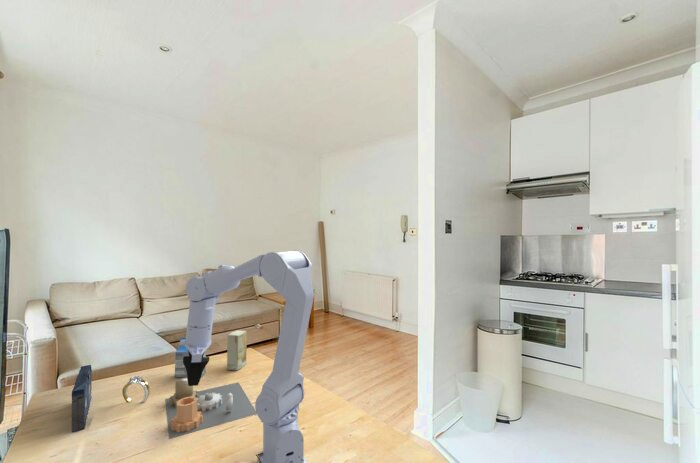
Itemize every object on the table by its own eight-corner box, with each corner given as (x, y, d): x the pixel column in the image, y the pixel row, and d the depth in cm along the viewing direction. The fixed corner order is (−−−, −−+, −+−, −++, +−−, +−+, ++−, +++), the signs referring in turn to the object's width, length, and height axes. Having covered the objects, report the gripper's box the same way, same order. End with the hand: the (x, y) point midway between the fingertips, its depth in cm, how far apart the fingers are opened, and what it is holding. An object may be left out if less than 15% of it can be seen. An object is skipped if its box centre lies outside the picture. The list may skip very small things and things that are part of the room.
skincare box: (237, 371, 114) (237, 335, 114) (226, 370, 115) (226, 335, 115) (247, 363, 120) (247, 330, 120) (236, 362, 121) (236, 329, 121)
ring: (119, 408, 90) (120, 378, 90) (129, 402, 93) (129, 373, 93) (142, 410, 89) (143, 380, 89) (151, 403, 92) (151, 375, 92)
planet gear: (204, 426, 79) (204, 403, 79) (171, 435, 76) (172, 411, 76) (200, 413, 85) (200, 391, 85) (170, 420, 81) (170, 398, 82)
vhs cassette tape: (80, 400, 94) (80, 365, 94) (93, 398, 95) (94, 363, 95) (68, 434, 78) (69, 392, 78) (84, 430, 80) (84, 389, 80)
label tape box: (174, 378, 108) (174, 340, 108) (179, 373, 112) (179, 337, 112) (201, 377, 109) (201, 340, 109) (206, 372, 113) (206, 336, 113)
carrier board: (257, 418, 85) (257, 391, 85) (169, 444, 74) (169, 413, 74) (238, 386, 103) (238, 363, 103) (165, 403, 92) (165, 378, 92)
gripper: (184, 313, 86) (178, 363, 87) (179, 335, 73) (172, 394, 73) (213, 313, 89) (207, 362, 90) (213, 335, 75) (206, 391, 76)
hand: (194, 376), depth 82 cm, fingers open, 7 cm apart
